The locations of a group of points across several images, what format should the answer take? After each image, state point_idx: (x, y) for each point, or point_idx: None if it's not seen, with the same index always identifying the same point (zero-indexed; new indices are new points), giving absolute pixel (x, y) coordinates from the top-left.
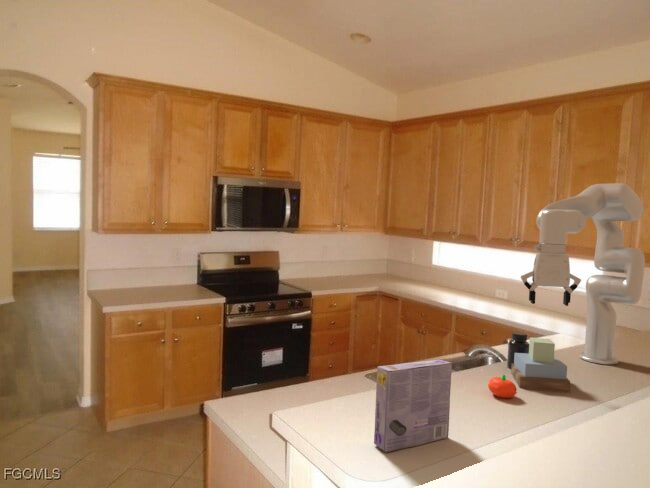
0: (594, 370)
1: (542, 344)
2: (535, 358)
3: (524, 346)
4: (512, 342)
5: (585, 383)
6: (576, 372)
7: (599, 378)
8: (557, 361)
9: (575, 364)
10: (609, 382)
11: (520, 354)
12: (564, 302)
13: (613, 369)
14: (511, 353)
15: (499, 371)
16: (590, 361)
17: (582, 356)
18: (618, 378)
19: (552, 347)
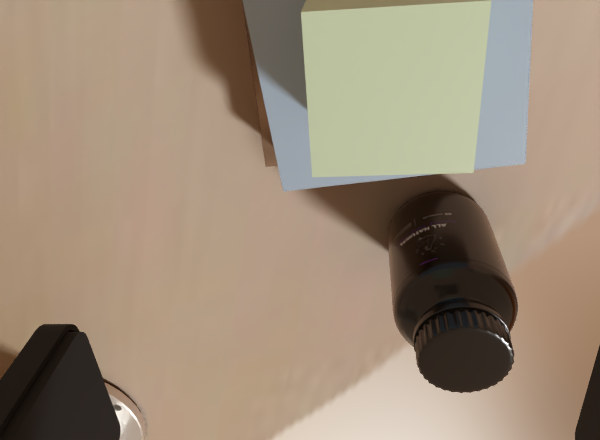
0: (99, 294)
1: (408, 1)
2: None
3: (437, 268)
4: (507, 298)
5: (145, 96)
6: (172, 247)
7: (82, 195)
8: (278, 43)
9: (167, 346)
10: (42, 151)
11: (497, 133)
12: (91, 411)
13: (29, 326)
14: (496, 249)
15: (554, 145)
16: (109, 385)
17: (133, 416)
18: (8, 221)
19: (320, 5)
